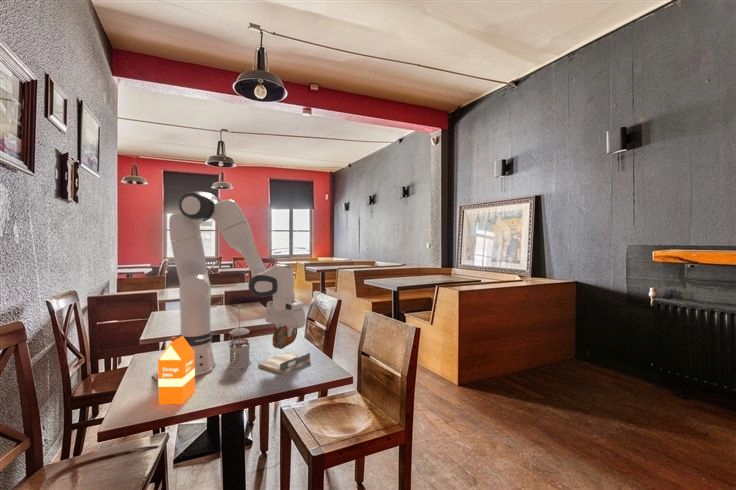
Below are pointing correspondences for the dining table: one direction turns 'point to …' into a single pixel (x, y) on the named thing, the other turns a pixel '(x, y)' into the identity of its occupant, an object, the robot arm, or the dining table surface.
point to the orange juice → (176, 373)
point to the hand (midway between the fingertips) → (284, 335)
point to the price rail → (294, 361)
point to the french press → (239, 348)
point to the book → (275, 363)
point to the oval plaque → (283, 337)
